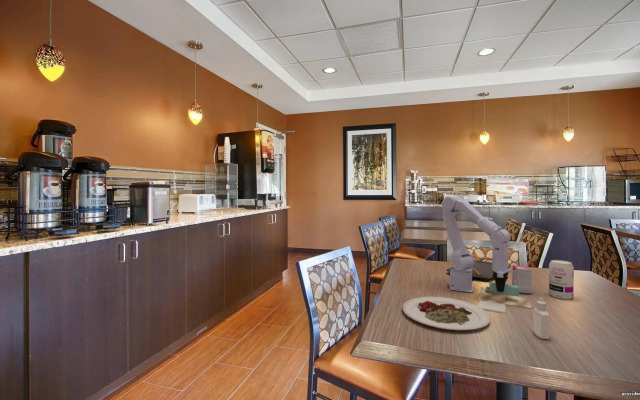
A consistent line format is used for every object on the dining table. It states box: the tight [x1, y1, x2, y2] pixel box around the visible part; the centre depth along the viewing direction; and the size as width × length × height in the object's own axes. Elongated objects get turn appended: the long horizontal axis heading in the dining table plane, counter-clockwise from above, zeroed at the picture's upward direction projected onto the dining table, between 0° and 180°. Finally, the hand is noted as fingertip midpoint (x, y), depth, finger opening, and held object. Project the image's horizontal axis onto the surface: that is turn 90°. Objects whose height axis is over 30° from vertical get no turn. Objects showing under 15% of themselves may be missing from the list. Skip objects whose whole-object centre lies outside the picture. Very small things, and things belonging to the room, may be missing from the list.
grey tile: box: [477, 300, 506, 315], centre depth 117 cm, size 9×9×1 cm
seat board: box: [478, 286, 532, 310], centre depth 125 cm, size 18×12×4 cm, turn 58°
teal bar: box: [488, 281, 520, 297], centre depth 125 cm, size 10×4×4 cm, turn 58°
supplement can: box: [548, 259, 575, 301], centre depth 127 cm, size 8×8×15 cm
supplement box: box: [511, 265, 533, 295], centre depth 134 cm, size 6×6×12 cm
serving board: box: [446, 256, 511, 283], centre depth 168 cm, size 39×23×6 cm, turn 131°
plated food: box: [402, 296, 491, 331], centre depth 111 cm, size 30×30×3 cm
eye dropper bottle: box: [532, 297, 551, 340], centre depth 94 cm, size 4×6×12 cm
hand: (500, 290), depth 125 cm, fingers closed on teal bar, 4 cm apart
